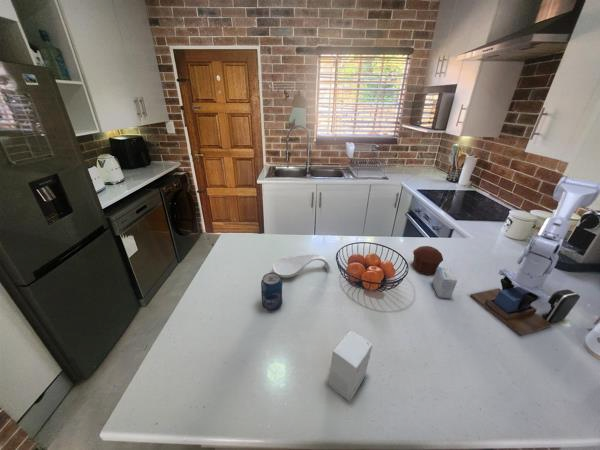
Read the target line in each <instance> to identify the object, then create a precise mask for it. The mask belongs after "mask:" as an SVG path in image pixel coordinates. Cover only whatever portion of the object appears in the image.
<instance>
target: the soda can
mask: <svg viewBox="0 0 600 450" xmlns="http://www.w3.org/2000/svg"><path fill="white" fill-rule="evenodd" d="M260 292H261V293H260V294H261V295H260V296H261V306H262V308H263V309H264V310H265V311H267V312H268V313H269V312H270V313H273V312H277V311H278V310H279V309H280V308H281V307H282V305H283V280H282V277H280V276H279V275H278V274H276V273H275V272H268V273H265V274H264V275H263V276H262V279H261V281H260Z"/></svg>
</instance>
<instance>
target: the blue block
mask: <svg viewBox="0 0 600 450" xmlns="http://www.w3.org/2000/svg"><path fill="white" fill-rule="evenodd" d="M525 293H529V292H528V291H527V290H525V289H523V288H520V287H515V288H510V289H505V290H502V289H501V291H499V292H498V294H497V296H496V298H495V300H494V302H493V303H494V304H496V305H497V306H498V307H499V308H501V309H502V310H503V311H505V312H506V313H507V314H510V313H514V312H518V311H522V310H518V306H519V304H520V303H521V301H522V298H523V294H525ZM530 305H531V306H532V303H530V304H529V305H528V306H526V307H525V308H524V309H523V310H526V309H528V308H529V307H530Z"/></svg>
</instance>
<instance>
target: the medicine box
mask: <svg viewBox="0 0 600 450" xmlns="http://www.w3.org/2000/svg"><path fill="white" fill-rule="evenodd" d="M457 282H458V280H457V278H456V276H455V275H454V273H453V270H452V269H451V268H450V267H446V266H438V268H437V269H436V271H435V274H434V278H433V280H432V283H431V284H432V286H433V288H434V291H435V293H436V295H437V298H442V299H448V300H449V299H451V298H452V295H453V292H454V290H455V288H456V285H457Z"/></svg>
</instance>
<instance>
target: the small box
mask: <svg viewBox="0 0 600 450" xmlns="http://www.w3.org/2000/svg"><path fill="white" fill-rule="evenodd" d="M372 349H373V343H372V342H370V341H369V340H367V339H366V338H365V337H363V336H361V335H360V334H358V333H357V332H354V331H353V330H352V329H349V330H348V331H347V332H346V334H345V335H344V336H343V337H342V338H341V340H340V341H339V343H338V344H337V345H336V346H335V347H334V349H333V350H332V354H331V362H330V369H329V371H330V372H329V376H328V385H329V386H330V387H331V388H332V389H333V390H335V392H337V393H338V394H339V395H341V396H342V397H343V398H344V399H346V401H348V402H351V400H352V399H353V397H354V396H355V394H356V393H357V391H358V389H359V388H360V386H361V385H362V383H363V381H364V379H365V378H366V374H367V369H368V364H369V360H370V356H371V352H372Z"/></svg>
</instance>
